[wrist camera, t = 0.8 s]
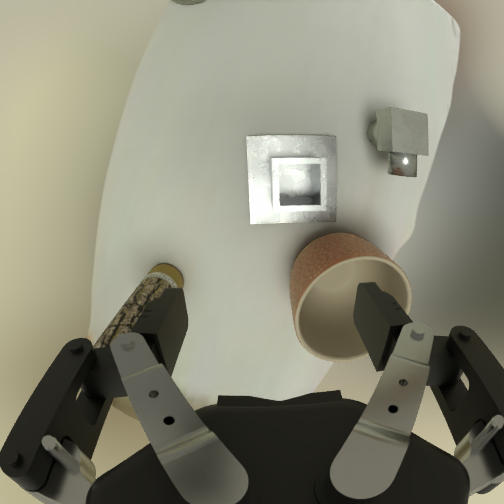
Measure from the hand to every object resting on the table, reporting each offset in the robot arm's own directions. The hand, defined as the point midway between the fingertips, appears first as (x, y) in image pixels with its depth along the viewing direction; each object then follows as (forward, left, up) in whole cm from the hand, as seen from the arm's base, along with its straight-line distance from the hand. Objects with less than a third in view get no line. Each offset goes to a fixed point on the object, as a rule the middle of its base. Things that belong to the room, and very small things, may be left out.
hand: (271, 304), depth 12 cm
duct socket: (-2, +5, -34) cm, 34 cm away
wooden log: (+15, -18, -34) cm, 41 cm away
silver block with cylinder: (-8, +20, -34) cm, 40 cm away
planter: (+14, +12, -34) cm, 39 cm away
